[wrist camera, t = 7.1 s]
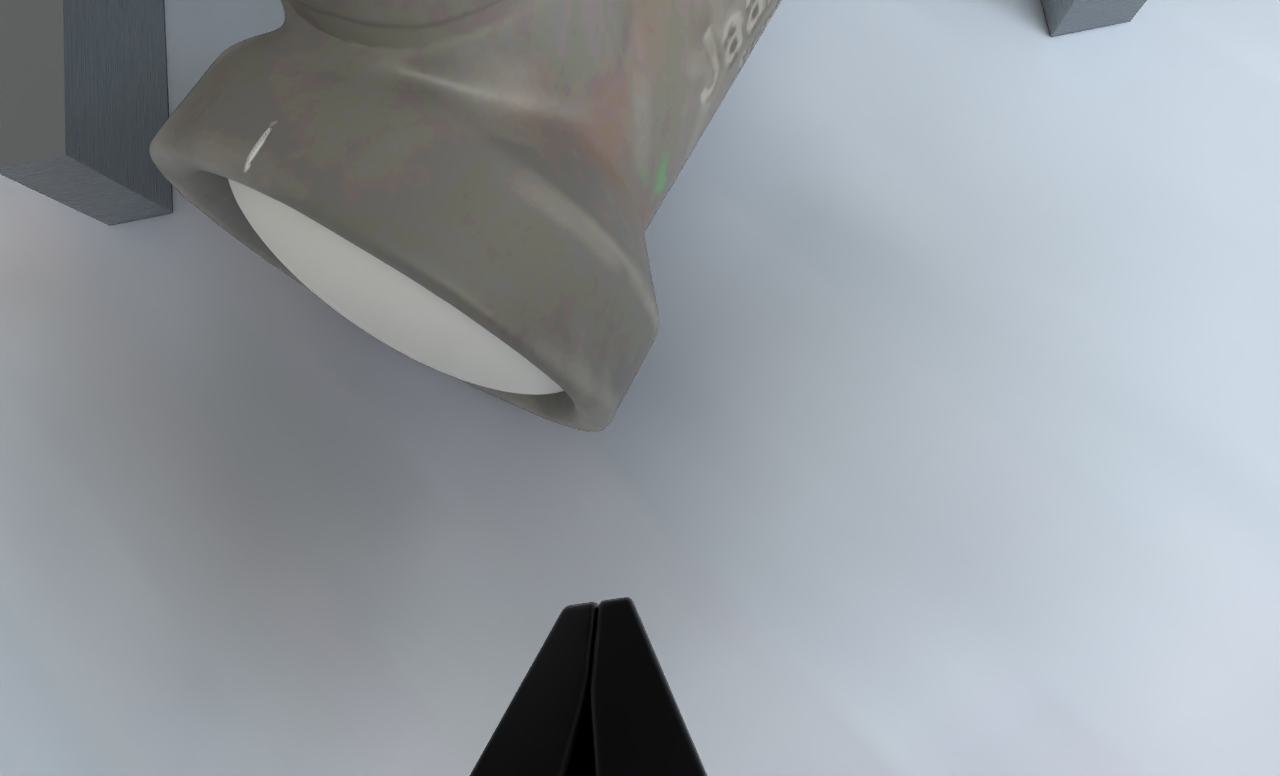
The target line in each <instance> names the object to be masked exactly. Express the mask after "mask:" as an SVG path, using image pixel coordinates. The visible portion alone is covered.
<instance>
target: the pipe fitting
mask: <svg viewBox="0 0 1280 776" xmlns="http://www.w3.org/2000/svg"><path fill="white" fill-rule="evenodd" d="M780 2H781V0H282V4H283V7H284V11H285V22H284V24H283V25H282V26H281V27H280V28H279V29H277V30H275V31H272V32H269V33H266V34H262V35H259V36H255V37H252V38H249V39H246V40H244V41H242V42H239V43H237V44H235V45H233V46H231V47H229V48H228V49H227V50H225V51H224V52H223V53H222V54H221V55H220V56H219V57H218V58H217V59H216V60H215V62H214V63H213V64H212V65H211V66H210V68H209V69H208V70H207V71H206V72H205V74H204V75H203V76H202V77H201V79H200V80H199V81H198V82H197V84H196V85H195V86H194V87H193V89H192V90H191V91H190V92H189V94H188V95H187V96H186V97H185V99H184V100H183V101H182V102H181V104H180V105H179V106H178V107H177V109H176V110H175V111H174V112H173V114H172V115H171V116H170V117H169V119H168V120H167V121H166V122H165V124H164V125H163V126H162V128H161V129H160V130H159V131H158V133H157V134H156V135H155V137H154V138H153V140H152V142H151V144H150V156H151V158H152V160H153V162H154V163H155V165H156V166H157V168H158V169H159V170H160V172H161V173H162V174H163V175H164V176H165V177H166V178H167V179H168V180H169V181H170V182H171V183H172V184H173V185H174V186H175V187H176V188H177V189H178V190H179V191H180V192H181V193H182V195H183V196H184V197H185V198H187V199H188V200H189V201H190V202H191V203H192V204H194V205H195V206H196V207H197V208H198V209H200V210H201V211H202V212H203V213H205V214H206V215H207V216H208V217H210V218H211V219H212V220H213V221H215V222H216V223H217V224H218V225H220V226H221V227H222V228H223V229H225V230H226V231H227V232H229V233H230V234H231V235H233V236H234V237H235V238H237V239H238V240H239V241H241V242H242V243H243V244H245V245H246V246H247V247H249V248H250V249H252V250H253V251H254V252H256V253H257V254H258V255H260V256H261V257H262V258H264V259H265V260H267V261H268V262H269V263H271V264H272V265H274V266H276V267H277V268H279V269H280V270H282V271H283V272H285V273H286V274H287V275H289V276H290V277H292V278H293V279H295V280H296V281H298V282H299V283H301V284H302V285H304V286H305V287H307V288H308V289H310V290H311V291H312V292H313V293H315V294H316V295H317V296H318V297H319V298H321V299H322V300H323V301H324V302H325V303H327V304H328V305H329V306H331V307H332V308H333V309H334V310H336V311H337V312H338V313H340V314H341V315H342V316H344V317H345V318H347V319H348V320H349V321H351V322H352V323H354V324H355V325H357V326H358V327H360V328H361V329H363V330H364V331H366V332H367V333H369V334H370V335H372V336H373V337H375V338H377V339H378V340H380V341H382V342H383V343H385V344H387V345H388V346H390V347H392V348H394V349H395V350H397V351H399V352H401V353H403V354H405V355H407V356H409V357H410V358H412V359H414V360H416V361H418V362H421V363H423V364H425V365H427V366H429V367H431V368H433V369H436V370H438V371H441V372H443V373H445V374H448V375H450V376H453V377H456V378H458V379H461V380H463V381H465V382H467V383H469V384H471V385H473V386H475V387H477V388H479V389H481V390H483V391H486V392H488V393H490V394H492V395H494V396H497V397H499V398H501V399H503V400H505V401H507V402H509V403H511V404H514V405H516V406H518V407H520V408H522V409H525V410H527V411H529V412H531V413H534V414H536V415H538V416H541V417H543V418H546V419H548V420H550V421H553V422H556V423H559V424H562V425H565V426H568V427H572V428H575V429H579V430H583V431H592V432H597V431H601V430H603V429H604V428H605V427H606V426H607V425H608V424H609V422H610V421H611V419H612V418H613V416H614V414H615V412H616V410H617V408H618V407H619V405H620V403H621V401H622V399H623V397H624V395H625V394H626V392H627V390H628V388H629V386H630V384H631V382H632V381H633V379H634V377H635V375H636V373H637V371H638V369H639V368H640V366H641V364H642V362H643V360H644V358H645V356H646V355H647V353H648V351H649V349H650V347H651V345H652V343H653V341H654V339H655V336H656V333H657V329H658V312H657V305H656V299H655V294H654V288H653V283H652V277H651V272H650V266H649V260H648V255H647V249H646V244H645V238H644V232H645V231H646V229H647V227H648V225H649V223H650V222H651V220H652V218H653V217H654V215H655V213H656V212H657V210H658V208H659V206H660V205H661V203H662V201H663V200H664V198H665V196H666V195H667V193H668V191H669V190H670V188H671V186H672V184H673V183H674V181H675V179H676V178H677V176H678V174H679V173H680V171H681V169H682V168H683V166H684V164H685V162H686V161H687V159H688V157H689V156H690V154H691V152H692V151H693V149H694V147H695V146H696V144H697V142H698V141H699V139H700V137H701V136H702V134H703V132H704V130H705V129H706V127H707V125H708V124H709V122H710V120H711V119H712V117H713V115H714V114H715V112H716V110H717V109H718V107H719V105H720V104H721V102H722V100H723V98H724V97H725V95H726V93H727V92H728V90H729V88H730V87H731V85H732V83H733V82H734V80H735V78H736V77H737V75H738V73H739V71H740V70H741V68H742V66H743V65H744V63H745V61H746V60H747V58H748V56H749V55H750V53H751V51H752V49H753V48H754V46H755V44H756V43H757V41H758V39H759V38H760V36H761V34H762V33H763V31H764V29H765V27H766V26H767V24H768V22H769V21H770V19H771V17H772V16H773V14H774V12H775V10H776V9H777V7H778V5H779V4H780Z"/></svg>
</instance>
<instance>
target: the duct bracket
mask: <svg viewBox="0 0 1280 776" xmlns="http://www.w3.org/2000/svg"><path fill="white" fill-rule="evenodd" d="M1041 1H1042V5H1043V9H1044V12H1045V16H1046V20H1047V24H1048V27H1049V31H1050V35H1051V37H1054V36H1059V35H1064V34H1069V33H1074V32H1079V31H1084V30H1089V29H1094V28H1100V27H1105V26H1110V25H1115V24H1120V23H1125V22H1130V21H1131V20H1132V18H1133V17H1134V16H1135V14H1136V13H1137V12H1138V11H1139V9H1140V8H1141V7H1142V6H1143V4H1144V3H1145V2H1146V1H1147V0H1041ZM167 120H168V99H167V75H166V51H165V26H164V2H163V0H0V174H1V175H3V176H6V177H8V178H10V179H12V180H14V181H16V182H18V183H20V184H23V185H25V186H27V187H29V188H31V189H33V190H35V191H37V192H40V193H42V194H44V195H46V196H48V197H50V198H52V199H54V200H57V201H59V202H61V203H63V204H65V205H67V206H69V207H71V208H74V209H76V210H78V211H80V212H82V213H84V214H86V215H89V216H91V217H93V218H95V219H97V220H99V221H101V222H103V223H106V224H108V225H114V224H119V223H124V222H129V221H134V220H139V219H144V218H149V217H154V216H159V215H164V214H169V213H172V196H171V182H170V181H169V180H168V179H167V178H166V177H165V176H164V175H163V174H162V173H161V172H160V170H159V169H158V168H157V166H156V165H155V163H154V162H153V160H152V158H151V156H150V144H151V142H152V140H153V138H154V137H155V135H156V134H157V133H158V131H159V130H160V129H161V128H162V126H163V125H164V124H165V122H166V121H167Z"/></svg>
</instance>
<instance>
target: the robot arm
mask: <svg viewBox="0 0 1280 776" xmlns="http://www.w3.org/2000/svg"><path fill="white" fill-rule="evenodd" d="M470 776H707V774H706V772H705V769H704V767H703V765H702V762H701V760H700V758H699V755H698V753H697V750H696V748H695V746H694V743H693V741H692V739H691V736H690V734H689V732H688V729H687V727H686V725H685V722H684V720H683V718H682V715H681V713H680V711H679V708H678V706H677V703H676V701H675V699H674V696H673V694H672V692H671V689H670V687H669V685H668V682H667V680H666V678H665V675H664V673H663V671H662V668H661V666H660V664H659V661H658V659H657V657H656V654H655V652H654V649H653V647H652V645H651V642H650V640H649V638H648V635H647V633H646V631H645V628H644V626H643V624H642V621H641V619H640V617H639V614H638V612H637V610H636V607H635V605H634V603H633V601H632V599H630V598H628V597H624V598H617V599H610V600H604V601H602V602H601V603H600V604H599V605H598V604H597V603H594V602H589V603H582V604H575V605H570V606H567V607H566V608H564V609H563V611H562V612H561V614H560V616H559V617H558V619H557V621H556V623H555V625H554V626H553V628H552V630H551V632H550V633H549V635H548V637H547V639H546V641H545V642H544V644H543V646H542V648H541V650H540V651H539V653H538V655H537V657H536V658H535V660H534V662H533V664H532V666H531V667H530V669H529V671H528V673H527V675H526V676H525V678H524V680H523V682H522V683H521V685H520V687H519V689H518V691H517V692H516V694H515V696H514V698H513V700H512V701H511V703H510V705H509V707H508V708H507V710H506V712H505V714H504V716H503V717H502V719H501V721H500V723H499V724H498V726H497V728H496V730H495V732H494V733H493V735H492V737H491V739H490V741H489V742H488V744H487V746H486V748H485V749H484V751H483V753H482V755H481V757H480V758H479V760H478V762H477V764H476V766H475V767H474V769H473V771H472V773H471V774H470Z"/></svg>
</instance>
